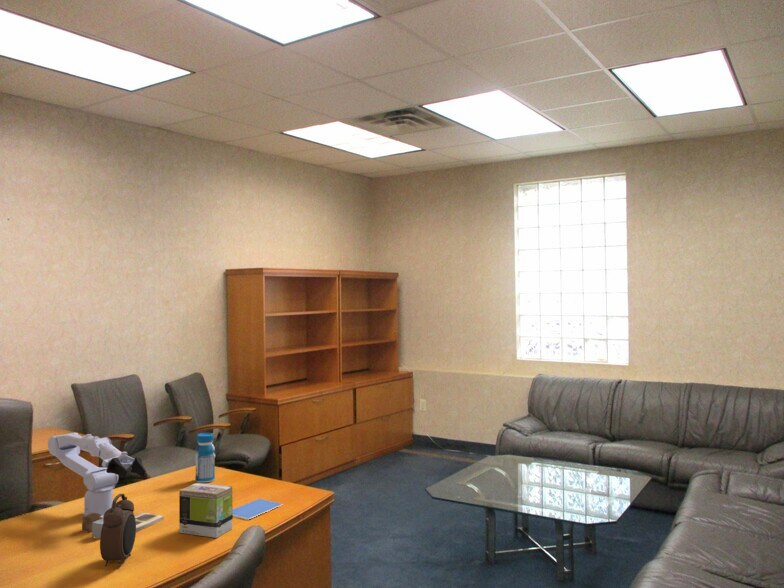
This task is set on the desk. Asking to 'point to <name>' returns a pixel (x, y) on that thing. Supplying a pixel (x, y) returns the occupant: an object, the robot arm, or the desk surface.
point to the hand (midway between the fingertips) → (135, 473)
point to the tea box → (205, 510)
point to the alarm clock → (118, 531)
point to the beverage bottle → (205, 458)
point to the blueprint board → (146, 520)
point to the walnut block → (89, 521)
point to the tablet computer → (254, 509)
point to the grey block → (97, 528)
